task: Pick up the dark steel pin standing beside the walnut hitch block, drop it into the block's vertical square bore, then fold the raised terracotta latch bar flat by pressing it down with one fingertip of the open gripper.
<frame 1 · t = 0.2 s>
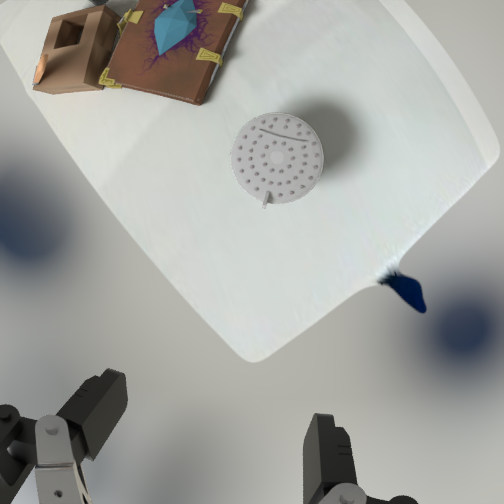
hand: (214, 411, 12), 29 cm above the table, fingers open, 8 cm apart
book: (184, 19, 34), on the table
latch: (40, 69, 29), point 8 cm above the table, hinge at 40.0°
showerhead: (277, 162, 37), on the table
hitch block: (84, 55, 35), on the table
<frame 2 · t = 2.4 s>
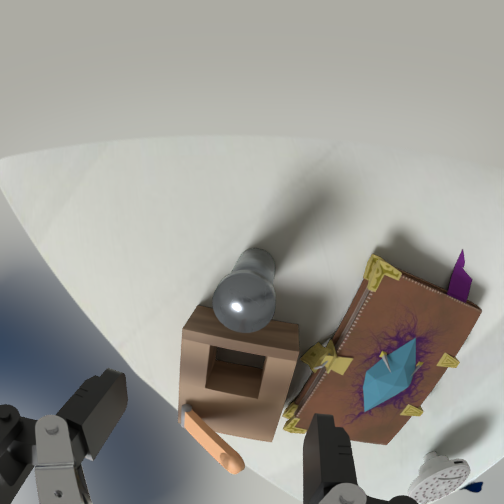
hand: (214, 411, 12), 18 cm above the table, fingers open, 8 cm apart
book: (386, 342, 31), on the table
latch: (209, 440, 26), point 8 cm above the table, hinge at 40.0°
showerhead: (428, 456, 34), on the table
pin: (255, 266, 29), on the table
hitch block: (238, 364, 32), on the table
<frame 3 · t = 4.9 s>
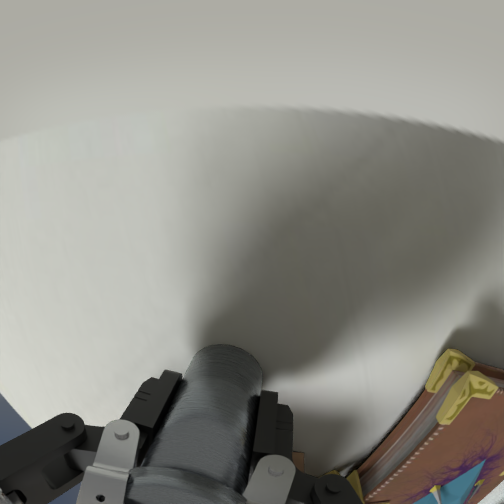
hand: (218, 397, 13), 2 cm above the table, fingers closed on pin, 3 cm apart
book: (435, 453, 16), on the table
pin: (225, 375, 14), on the table, touching gripper
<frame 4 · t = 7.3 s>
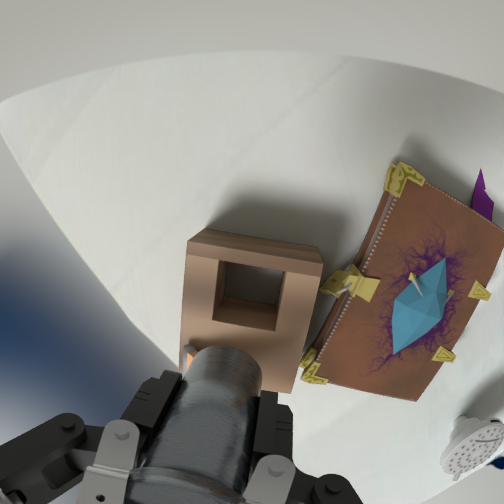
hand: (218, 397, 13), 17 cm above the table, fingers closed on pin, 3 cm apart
book: (411, 272, 28), on the table
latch: (217, 386, 23), point 8 cm above the table, hinge at 40.0°
showerhead: (458, 421, 31), on the table
pin: (225, 375, 14), point 15 cm above the table, touching gripper
hitch block: (250, 301, 29), on the table
when the fingers open (6 cm above the table, at t = 10.0 s): pin drops 4 cm, resting in hitch block.
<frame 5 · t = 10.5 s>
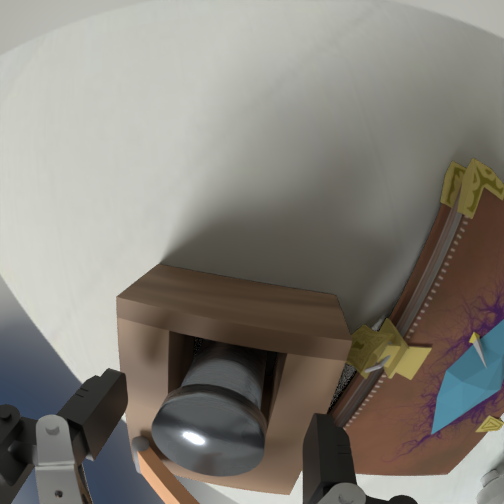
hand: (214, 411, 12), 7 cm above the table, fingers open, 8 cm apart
book: (463, 321, 17), on the table
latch: (180, 502, 12), point 8 cm above the table, hinge at 40.0°
showerhead: (486, 476, 21), on the table
pin: (238, 335, 18), resting in hitch block
hitch block: (232, 369, 19), on the table
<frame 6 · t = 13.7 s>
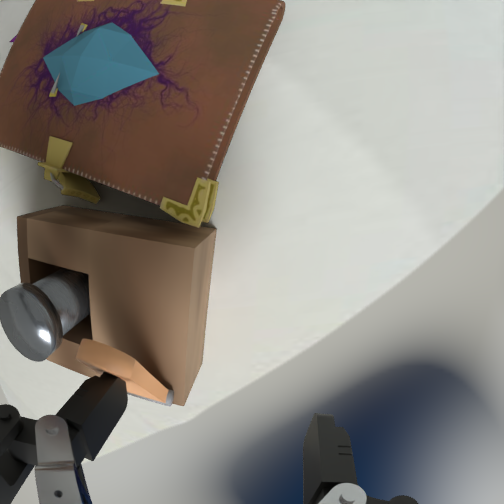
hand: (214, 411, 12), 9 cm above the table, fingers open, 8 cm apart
book: (92, 80, 18), on the table
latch: (129, 378, 14), point 8 cm above the table, hinge at 40.0°, touching gripper
pin: (98, 276, 21), resting in hitch block
hitch block: (127, 285, 21), on the table
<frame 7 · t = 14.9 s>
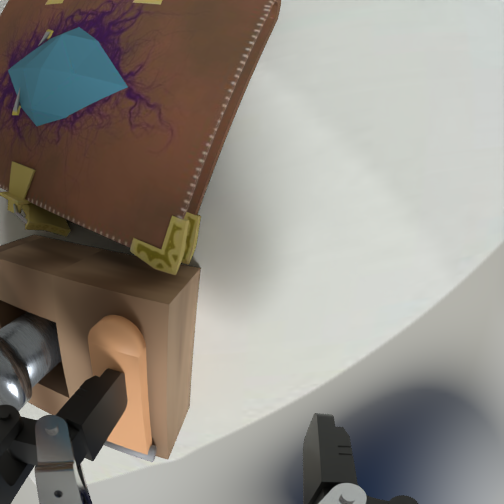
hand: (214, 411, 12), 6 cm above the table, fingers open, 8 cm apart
book: (62, 93, 16), on the table
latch: (122, 398, 13), point 6 cm above the table, hinge at 1.7°, touching gripper
pin: (74, 313, 19), resting in hitch block
hitch block: (105, 324, 18), on the table
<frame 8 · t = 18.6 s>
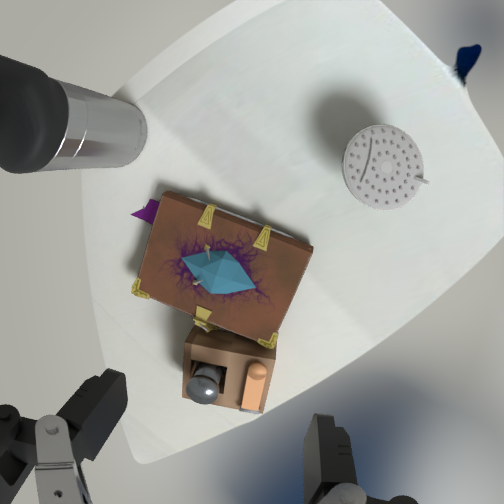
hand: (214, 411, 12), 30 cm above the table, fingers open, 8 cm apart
book: (207, 263, 43), on the table
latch: (253, 389, 40), point 5 cm above the table, hinge at -1.5°, touching hitch block
showerhead: (372, 168, 37), on the table
pin: (214, 357, 46), resting in hitch block
hitch block: (231, 361, 46), on the table
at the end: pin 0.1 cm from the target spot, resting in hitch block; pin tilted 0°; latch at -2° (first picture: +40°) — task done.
